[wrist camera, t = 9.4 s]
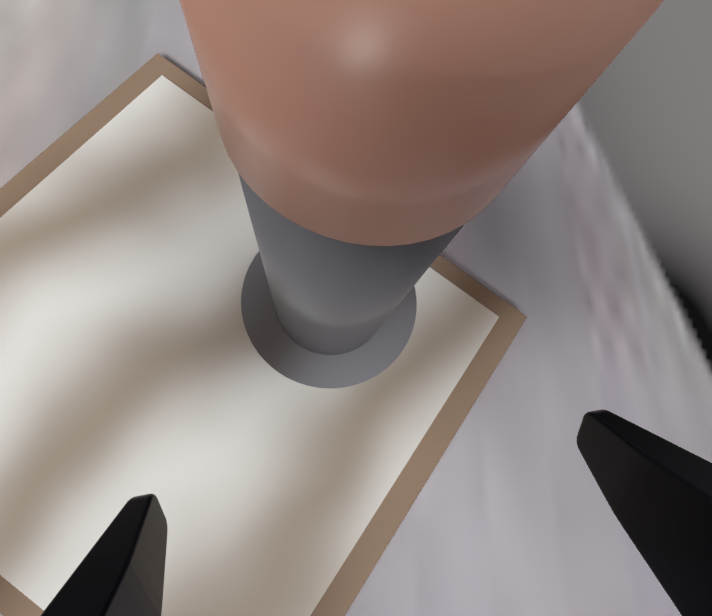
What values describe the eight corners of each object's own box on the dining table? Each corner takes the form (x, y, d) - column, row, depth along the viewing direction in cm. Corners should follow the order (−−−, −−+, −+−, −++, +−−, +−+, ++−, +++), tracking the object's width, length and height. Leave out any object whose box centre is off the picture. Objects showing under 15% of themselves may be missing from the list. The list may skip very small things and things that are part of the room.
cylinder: (410, 306, 17) (781, -89, 4) (325, 382, 16) (427, 199, 3) (335, 225, 18) (430, -375, 4) (247, 293, 17) (6, -236, 3)
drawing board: (521, 319, 18) (529, 315, 18) (233, 789, 13) (229, 808, 13) (161, 62, 20) (156, 49, 19) (-234, 405, 14) (-260, 404, 14)
